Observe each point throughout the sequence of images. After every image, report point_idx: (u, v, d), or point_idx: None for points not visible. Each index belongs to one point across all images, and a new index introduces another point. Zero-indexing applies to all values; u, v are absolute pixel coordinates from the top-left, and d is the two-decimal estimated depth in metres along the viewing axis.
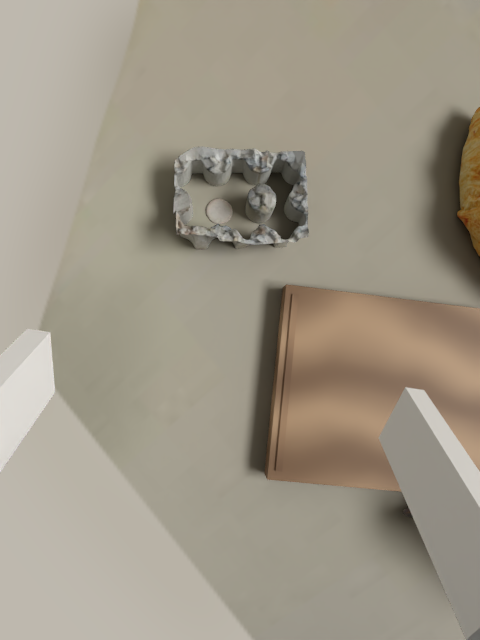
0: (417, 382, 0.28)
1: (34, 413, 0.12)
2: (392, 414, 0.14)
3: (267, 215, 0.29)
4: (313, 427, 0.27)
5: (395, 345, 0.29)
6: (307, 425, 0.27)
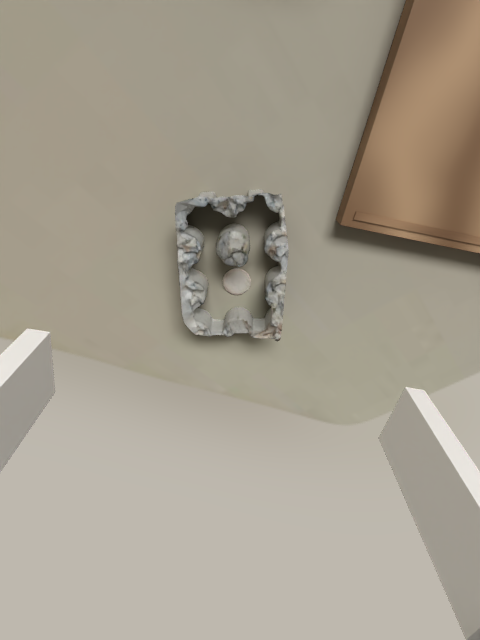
0: None
1: (34, 413, 0.12)
2: (392, 414, 0.14)
3: (248, 237, 0.25)
4: None
5: (460, 74, 0.20)
6: None
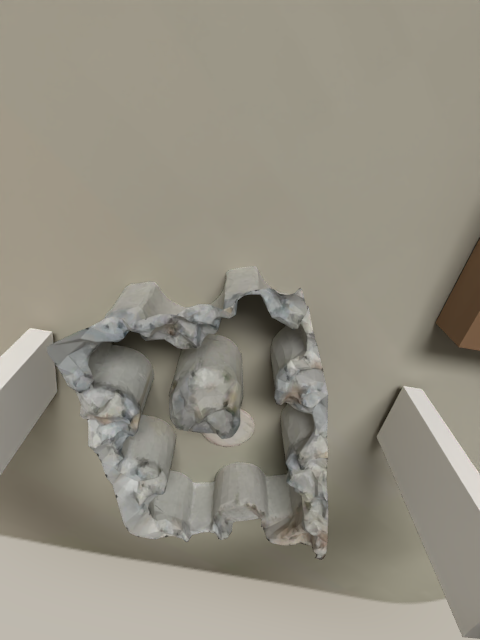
0: None
1: (36, 412, 0.12)
2: (390, 413, 0.14)
3: (237, 369, 0.12)
4: None
5: None
6: None
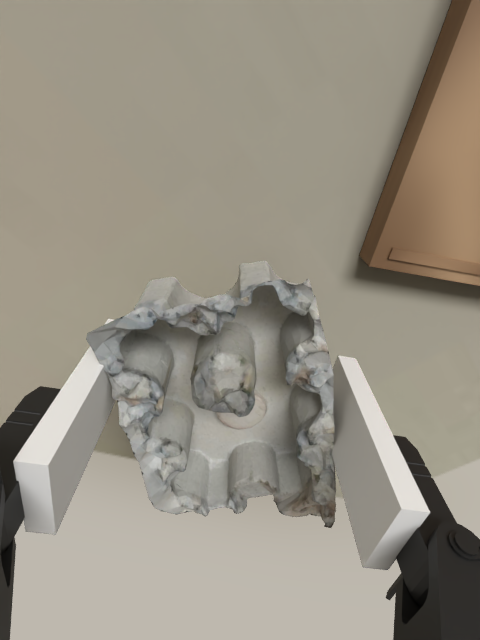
0: None
1: None
2: None
3: (250, 354, 0.13)
4: None
5: None
6: None
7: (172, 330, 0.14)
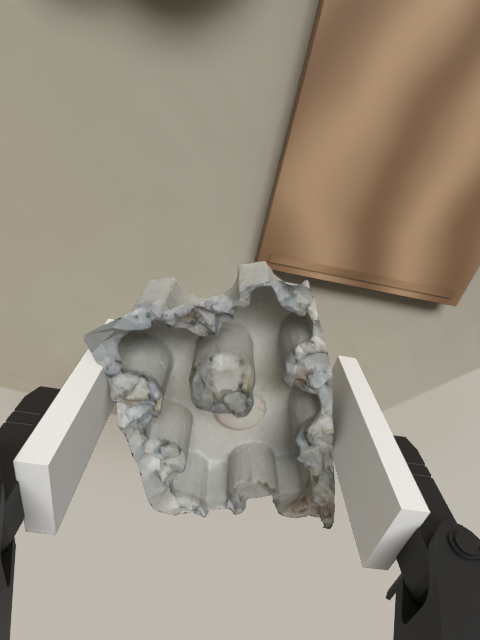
0: (421, 100, 0.20)
1: None
2: None
3: (249, 355, 0.13)
4: (423, 254, 0.24)
5: (360, 128, 0.20)
6: (419, 260, 0.24)
7: (171, 330, 0.14)
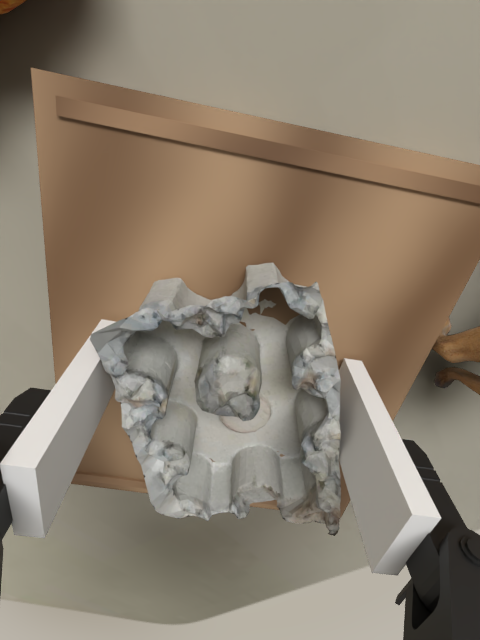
0: None
1: (108, 395, 0.13)
2: None
3: (256, 358, 0.13)
4: None
5: None
6: None
7: (177, 331, 0.14)
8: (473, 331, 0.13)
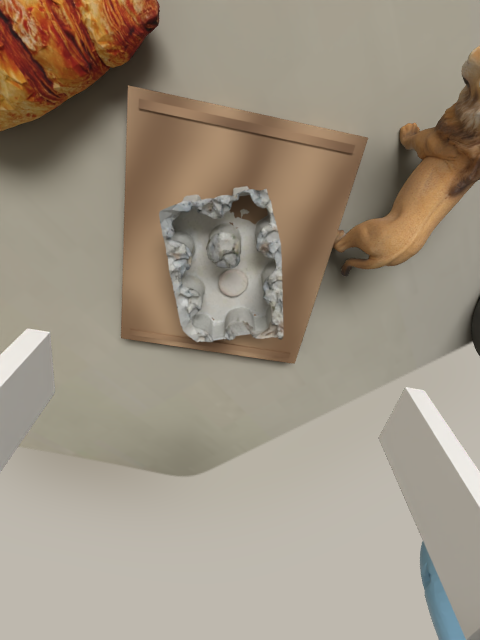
0: None
1: (33, 413, 0.12)
2: (392, 414, 0.14)
3: (238, 237, 0.24)
4: None
5: None
6: None
7: (195, 228, 0.25)
8: (348, 232, 0.25)
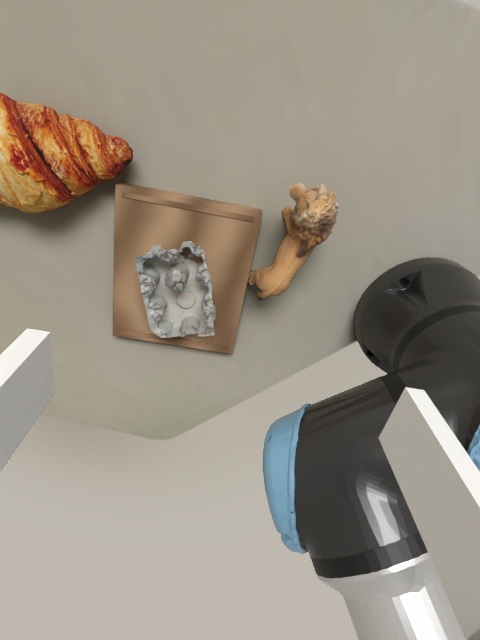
0: None
1: (34, 413, 0.12)
2: (392, 414, 0.14)
3: (185, 272, 0.38)
4: None
5: None
6: None
7: (159, 265, 0.40)
8: (253, 273, 0.39)
